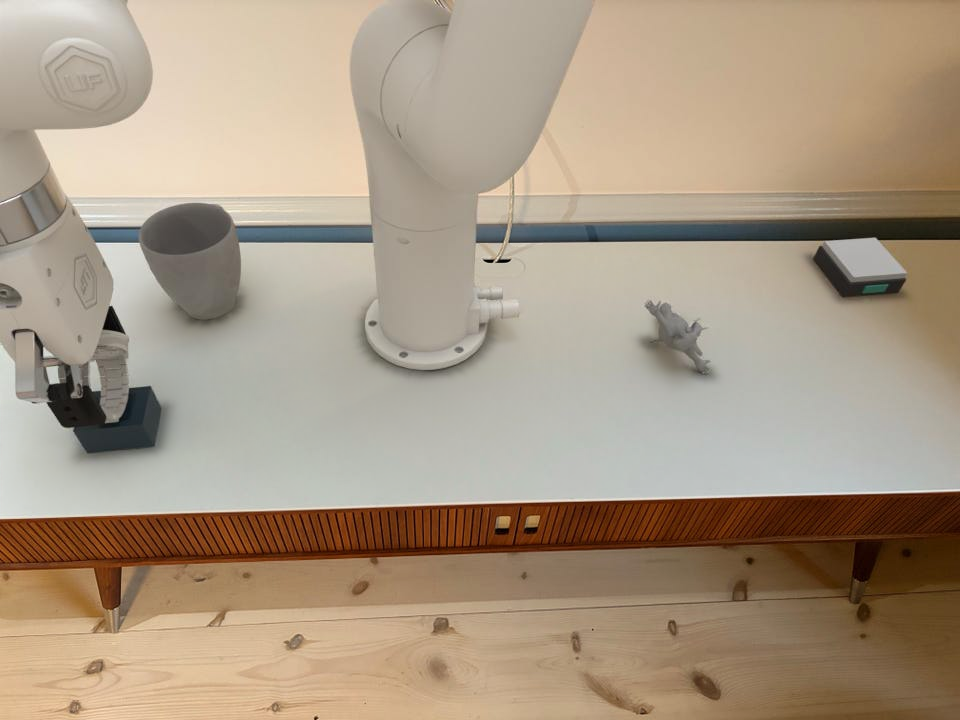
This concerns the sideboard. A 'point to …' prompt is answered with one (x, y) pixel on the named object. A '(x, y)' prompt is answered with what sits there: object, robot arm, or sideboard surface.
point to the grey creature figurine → (678, 332)
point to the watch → (117, 401)
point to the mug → (194, 257)
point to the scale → (860, 267)
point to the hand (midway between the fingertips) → (97, 380)
